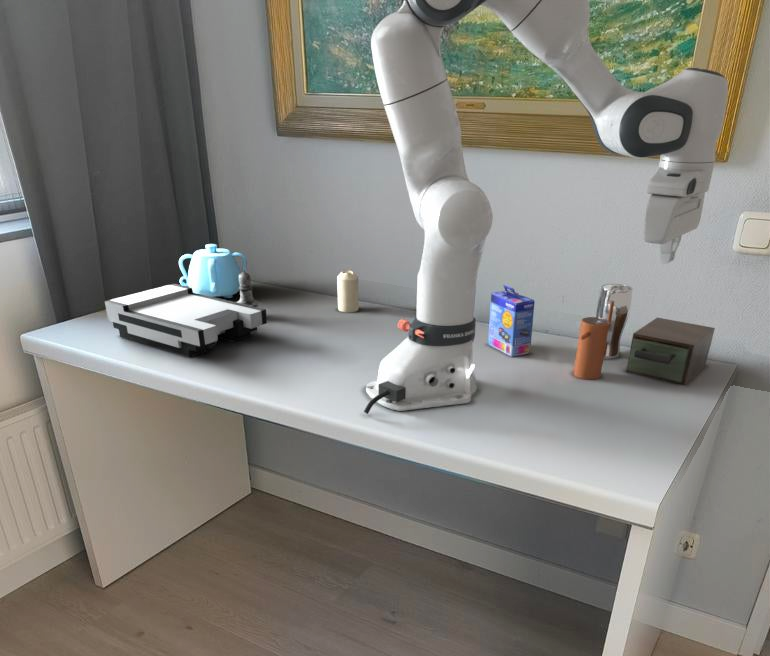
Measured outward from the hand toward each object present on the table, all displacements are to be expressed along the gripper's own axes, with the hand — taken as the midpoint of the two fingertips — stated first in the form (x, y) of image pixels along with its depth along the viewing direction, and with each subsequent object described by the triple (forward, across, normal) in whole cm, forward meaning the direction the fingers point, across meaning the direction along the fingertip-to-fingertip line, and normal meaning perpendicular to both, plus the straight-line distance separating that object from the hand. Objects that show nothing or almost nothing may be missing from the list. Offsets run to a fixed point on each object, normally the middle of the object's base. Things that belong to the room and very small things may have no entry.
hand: (666, 262), depth 130 cm
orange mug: (+25, 0, -12) cm, 28 cm away
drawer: (+24, -12, 0) cm, 27 cm away
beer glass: (+25, -16, -14) cm, 33 cm away
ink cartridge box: (+25, -6, -33) cm, 42 cm away
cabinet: (+25, -16, 0) cm, 30 cm away
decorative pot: (+25, +3, -122) cm, 125 cm away
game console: (+25, +33, -98) cm, 107 cm away
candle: (+25, -8, -83) cm, 87 cm away
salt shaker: (+25, +13, -99) cm, 103 cm away
